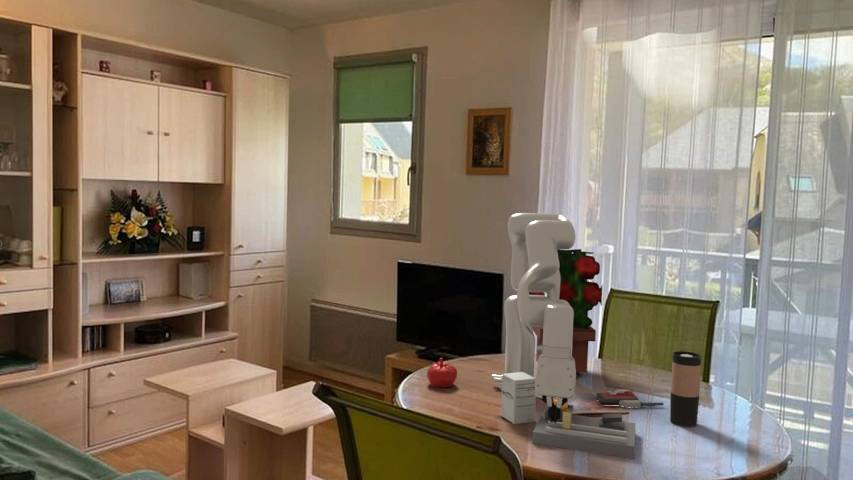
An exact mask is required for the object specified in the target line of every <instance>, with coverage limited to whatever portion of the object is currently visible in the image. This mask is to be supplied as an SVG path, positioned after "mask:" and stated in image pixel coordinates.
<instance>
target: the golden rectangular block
mask: <svg viewBox="0 0 853 480" xmlns="http://www.w3.org/2000/svg"><path fill="white" fill-rule="evenodd" d="M571 424H572V409H569V408H564V410H563V422H562V429H567V430H571Z"/></svg>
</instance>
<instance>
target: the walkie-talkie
mask: <svg viewBox="0 0 853 480" xmlns="http://www.w3.org/2000/svg"><path fill="white" fill-rule="evenodd" d="M596 399H597V400H598V401H599V405H601V406H602V405H619V406H618V407H620V406H624V407H631V408H630V409H641V407H655V406H664V405H665V404H664V402H643V401H642V402H641V401H639V397H638V396H637V395H635V394H634V393H633V392H632V391H631V390H630V389H627V388H625V389H621V388H620V389H619V388H618V389H616V390H614V391H611V390H607V392H596ZM632 407H633V408H632ZM636 407H637V408H636Z"/></svg>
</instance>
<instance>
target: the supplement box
mask: <svg viewBox="0 0 853 480" xmlns="http://www.w3.org/2000/svg"><path fill="white" fill-rule="evenodd" d="M502 375H503V376H502V391H501V401H500V403H501V404H500V416H501V417H502V418H504V419H505V420H506V421H509V422H510V423H512V424H513V425H516V424H517V425H519V424H526V423H533V422H535V421H536V406H537V405H536V399H537V397H536V396H535V395H534V394H535V379H536V377H532V376H530V375H528V374H526V373H524V372H516V373H506V374H505V373H503V374H502Z"/></svg>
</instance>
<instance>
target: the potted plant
mask: <svg viewBox="0 0 853 480" xmlns="http://www.w3.org/2000/svg"><path fill="white" fill-rule="evenodd" d="M557 252H558V259H559V265H560V267H559V271H560V277H561V283H560V297H559V299H561V300H565V301H567V302H568V303H569V305H570V306H571V307H572V308H573V313H574V315H573V337H572V357H573V358H574V361H575V370H576V377H581V373H585V374H586V373H588V362H589V361H588V360H589V359H588V358H589V356H588V355H589V342H596V337H597V336H596V334H597V330H596V329H595V328H593V327H592V325H593V319H592V318H591V317H589V311H592V310H593V309H594V307H596V306H598V304H600V306H601V307H602V306H603V303H602V302H603V284H601V286H600V285H599V284H598V283H597V282H595V281H591V280H593V279H594V278H595V276H598V275H599V274H600V273H601V265H600V263H599V262H598V261H596V259H595V257H594V256H593V255H594V252H593V251H592V252H591V251H582V248H577V249H557ZM587 254H589V255H587ZM592 254H593V255H592ZM588 280H589V281H588ZM528 295H544V292H528ZM531 331H533V334H534V335H536V346H537V345H539V346H540V345H542V344H543V327H531ZM535 352H536V356H535V361H536V362H537V363H538V359H539V356H540V355H541V354H542V352H541V351H538V350H537V349H536V351H535Z"/></svg>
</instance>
